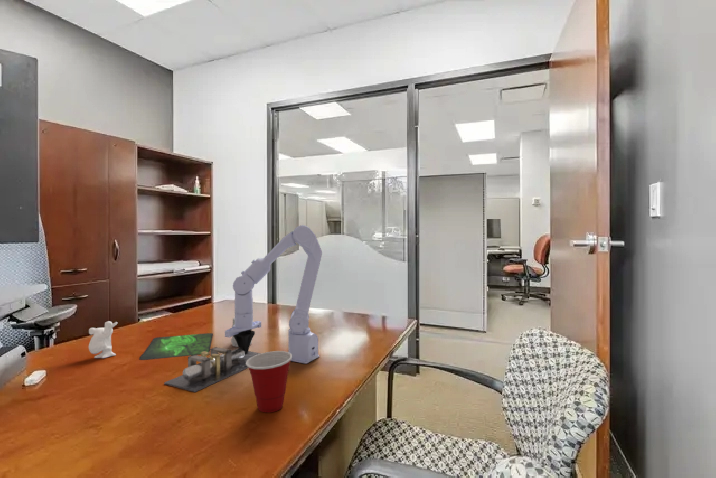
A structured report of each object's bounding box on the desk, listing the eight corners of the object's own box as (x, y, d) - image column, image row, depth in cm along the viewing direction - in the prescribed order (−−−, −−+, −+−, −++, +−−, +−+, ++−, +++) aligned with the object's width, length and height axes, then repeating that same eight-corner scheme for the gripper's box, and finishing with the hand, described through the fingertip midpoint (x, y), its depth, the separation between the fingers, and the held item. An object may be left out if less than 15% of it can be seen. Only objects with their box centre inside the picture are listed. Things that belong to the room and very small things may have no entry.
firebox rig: (272, 356, 124) (272, 338, 124) (194, 392, 96) (194, 368, 96) (245, 351, 129) (244, 333, 129) (164, 384, 102) (164, 361, 102)
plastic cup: (244, 401, 91) (244, 352, 91) (288, 394, 95) (288, 348, 95) (247, 422, 81) (246, 367, 81) (296, 413, 85) (296, 361, 85)
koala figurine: (122, 353, 128) (121, 318, 128) (111, 359, 121) (111, 323, 121) (96, 354, 127) (95, 319, 127) (84, 361, 120) (83, 324, 120)
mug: (230, 348, 134) (230, 315, 134) (232, 339, 145) (232, 308, 145) (252, 346, 136) (251, 313, 136) (252, 337, 147) (252, 307, 147)
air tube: (237, 356, 120) (237, 344, 120) (244, 358, 119) (244, 346, 119) (182, 379, 102) (182, 365, 102) (190, 381, 100) (190, 366, 100)
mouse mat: (209, 354, 128) (209, 351, 128) (137, 362, 120) (137, 358, 120) (213, 334, 153) (213, 332, 153) (153, 339, 146) (153, 337, 146)
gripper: (250, 307, 129) (250, 346, 129) (217, 315, 116) (217, 358, 116) (265, 309, 126) (266, 348, 126) (234, 317, 113) (234, 362, 113)
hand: (244, 353), depth 121 cm, fingers closed
